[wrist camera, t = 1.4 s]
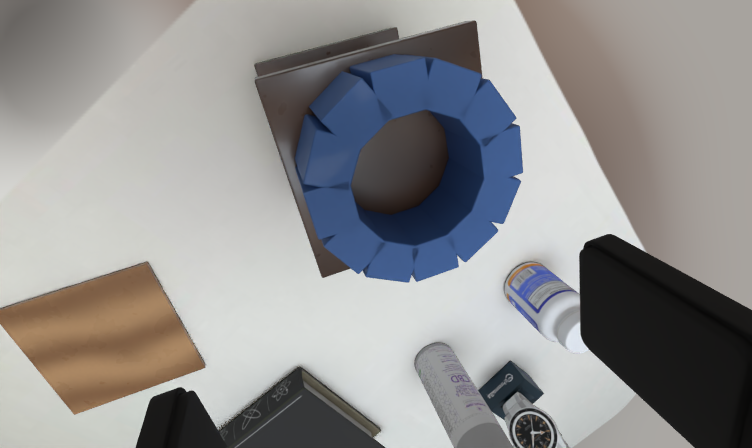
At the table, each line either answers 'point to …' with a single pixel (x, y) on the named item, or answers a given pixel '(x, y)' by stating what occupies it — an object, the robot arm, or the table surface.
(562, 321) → the pill bottle
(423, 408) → the table surface
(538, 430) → the watch
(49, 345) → the mat
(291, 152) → the platform
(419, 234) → the ring
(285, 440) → the book
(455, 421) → the container
